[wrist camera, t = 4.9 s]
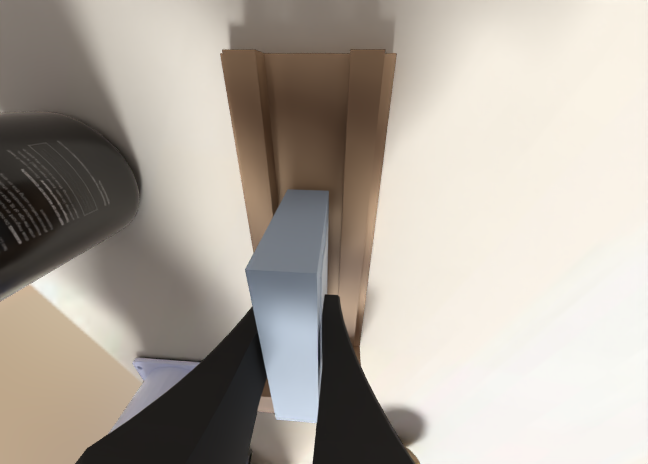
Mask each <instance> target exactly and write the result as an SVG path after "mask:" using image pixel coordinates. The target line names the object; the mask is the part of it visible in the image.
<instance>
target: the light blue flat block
mask: <svg viewBox="0 0 648 464" xmlns="http://www.w3.org/2000/svg"><path fill="white" fill-rule="evenodd" d="M328 216H329V191H323V190H291V189H288V190H287V192H286V193H285V195H284V197H283V199H282V201H281V203H280V205H279V207H278V209H277V210H276V212H275V214H274V216H273V218H272V220H271V222H270V224H269V225H268V227H267V229H266V231H265V233H264V235H263V237H262V239H261V241H260V242H259V244H258V246H257V248H256V250H255V252H254V254H253V256H252V258H251V259H250V261H249V263H248V265H247V267H246V269H245V272H246V277H247V281H248V286H249V291H250V296H251V301H252V306H253V310H254V315H255V320H256V325H257V330H258V335H259V339H260V344H261V349H262V354H263V359H264V364H265V369H266V373H267V378H268V383H269V388H270V393H271V398H272V402H273V407H274V412H275V417H276V420H288V421H299V422H311V423H317V416H318V406H319V396H320V385H321V374H322V312H323V304H324V296H325V294H327V278H328Z"/></svg>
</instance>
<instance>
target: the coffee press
mask: <svg viewBox="0 0 648 464" xmlns="http://www.w3.org/2000/svg"><path fill="white" fill-rule="evenodd" d="M251 455H252V450H249V451H248V456H247V461H246V464H250V462H251Z"/></svg>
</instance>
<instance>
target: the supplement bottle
mask: <svg viewBox="0 0 648 464" xmlns="http://www.w3.org/2000/svg"><path fill="white" fill-rule="evenodd" d="M138 207H139V189H138V185H137V181H136V179H135V176H134V174H133V172H132V170H131V168H130V166H129V164H128V163H127V161H126V160H125V158H124V157H123V156H122V154H121V153H120V152H119V151H118V150H117V149H116V147H115V146H114V145H113V144H112V143H111V142H110V141H108V140H107V139H106V138H105V137H104V136H103V135H101V134H100V133H99V132H97V131H96V130H94V129H93V128H91V127H90V126H88V125H86V124H85V123H83V122H81V121H79V120H76V119H74V118H72V117H69V116H66V115H63V114H58V113H54V112H45V111H30V112H4V113H0V301H2V300H4V299H6V298H7V297H9V296H11V295H12V294H14V293H16V292H17V291H19V290H21V289H22V288H24V287H25V286H27V285H29V284H31V283H33V282H34V281H36V280H38V279H39V278H41V277H43V276H44V275H46V274H48V273H50V272H51V271H53V270H55V269H56V268H58V267H60V266H61V265H63V264H65V263H66V262H68V261H70V260H72V259H73V258H75V257H77V256H78V255H80V254H82V253H83V252H85V251H87V250H89V249H90V248H92V247H94V246H95V245H97V244H99V243H100V242H102V241H104V240H105V239H107V238H109V237H110V236H112V235H114V234H115V233H117V232H119V231H120V230H122V229H123V228H125V227H126V226H127V225H129V224H130V223H131V221H132V220H133V219H134V217H135V215H136V213H137V210H138Z"/></svg>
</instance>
